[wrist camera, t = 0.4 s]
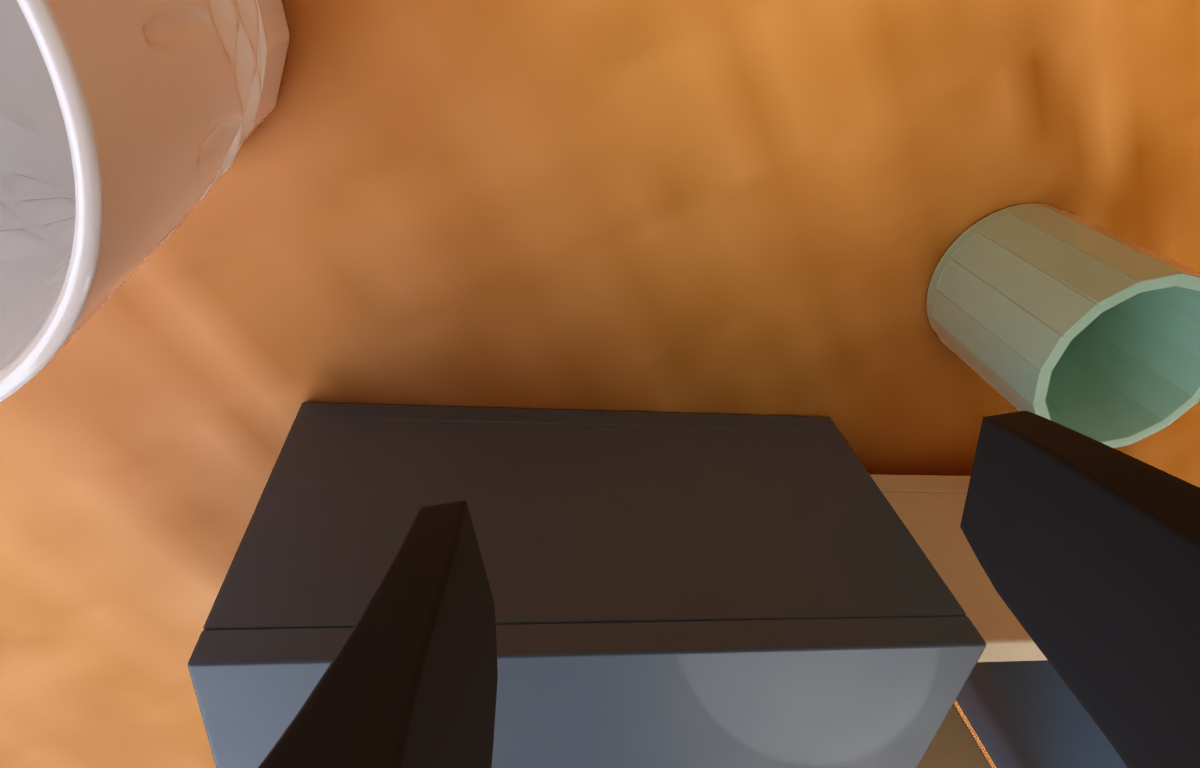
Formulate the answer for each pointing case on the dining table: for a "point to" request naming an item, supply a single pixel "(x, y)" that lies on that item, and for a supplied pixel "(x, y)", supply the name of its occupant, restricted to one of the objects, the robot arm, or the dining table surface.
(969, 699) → the drawer
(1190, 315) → the pale green cup
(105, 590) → the dining table surface
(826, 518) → the cabinet
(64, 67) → the white cup
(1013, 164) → the dining table surface
